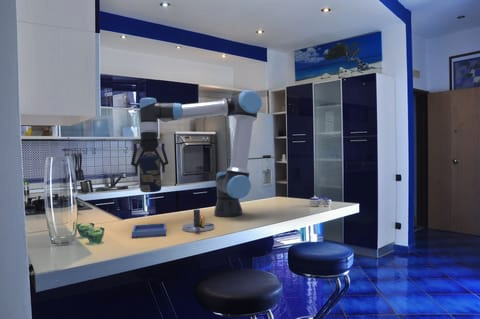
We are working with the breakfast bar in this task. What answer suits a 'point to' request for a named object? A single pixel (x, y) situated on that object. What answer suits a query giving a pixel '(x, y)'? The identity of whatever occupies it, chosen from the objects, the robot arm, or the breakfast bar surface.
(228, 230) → the breakfast bar surface
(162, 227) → the tray
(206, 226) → the crank base
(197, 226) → the crank
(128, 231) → the breakfast bar surface
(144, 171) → the canister
